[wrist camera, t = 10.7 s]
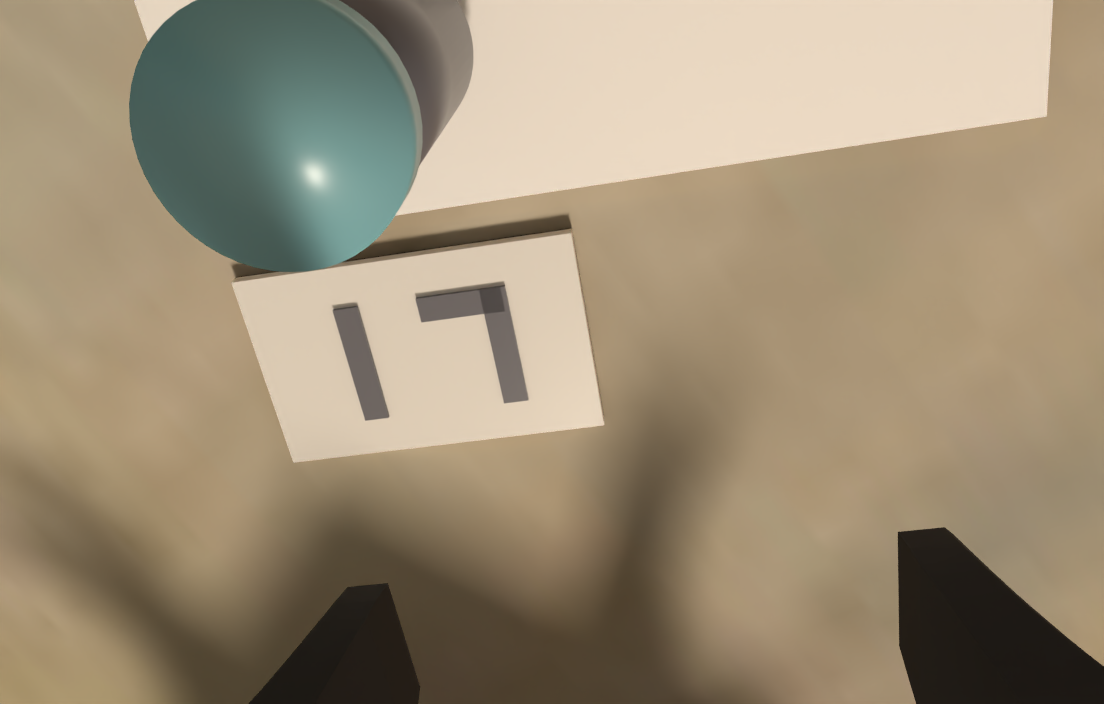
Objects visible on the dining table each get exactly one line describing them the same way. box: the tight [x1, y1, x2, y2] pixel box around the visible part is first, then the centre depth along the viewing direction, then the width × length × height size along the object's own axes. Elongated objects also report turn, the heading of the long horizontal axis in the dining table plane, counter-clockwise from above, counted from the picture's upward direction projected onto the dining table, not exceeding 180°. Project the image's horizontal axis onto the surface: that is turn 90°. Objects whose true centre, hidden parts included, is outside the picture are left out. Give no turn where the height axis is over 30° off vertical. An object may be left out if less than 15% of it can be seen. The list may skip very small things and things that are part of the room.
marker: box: [129, 0, 473, 272], centre depth 16 cm, size 4×4×8 cm
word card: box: [232, 229, 604, 463], centre depth 23 cm, size 8×5×1 cm, turn 100°
